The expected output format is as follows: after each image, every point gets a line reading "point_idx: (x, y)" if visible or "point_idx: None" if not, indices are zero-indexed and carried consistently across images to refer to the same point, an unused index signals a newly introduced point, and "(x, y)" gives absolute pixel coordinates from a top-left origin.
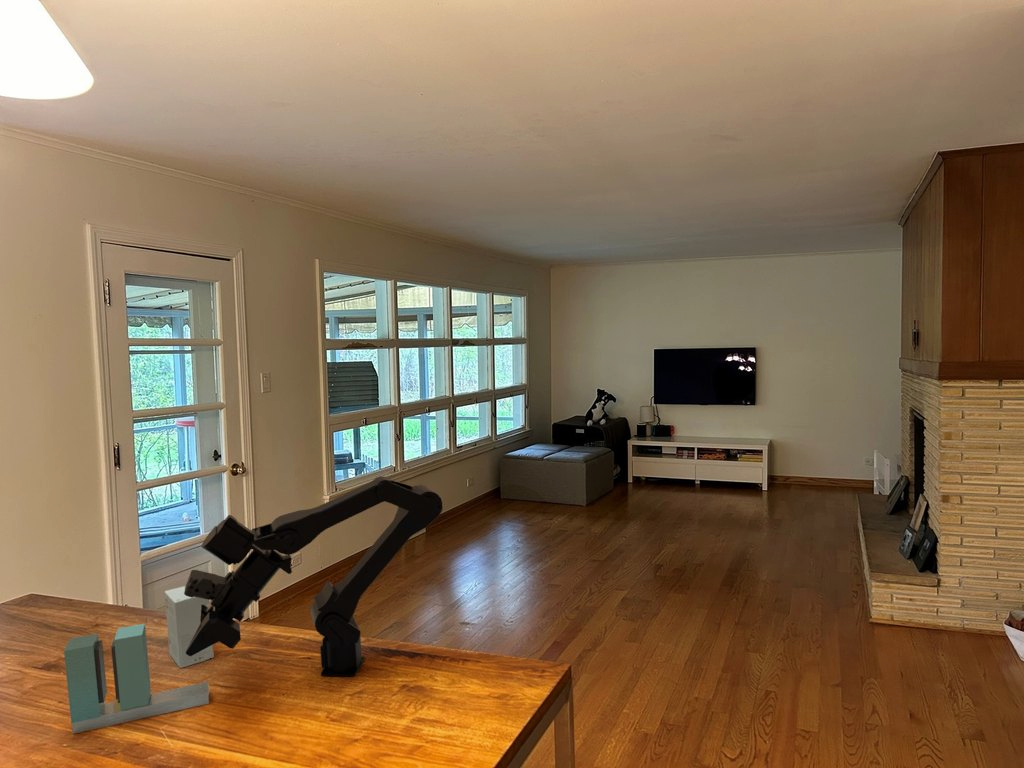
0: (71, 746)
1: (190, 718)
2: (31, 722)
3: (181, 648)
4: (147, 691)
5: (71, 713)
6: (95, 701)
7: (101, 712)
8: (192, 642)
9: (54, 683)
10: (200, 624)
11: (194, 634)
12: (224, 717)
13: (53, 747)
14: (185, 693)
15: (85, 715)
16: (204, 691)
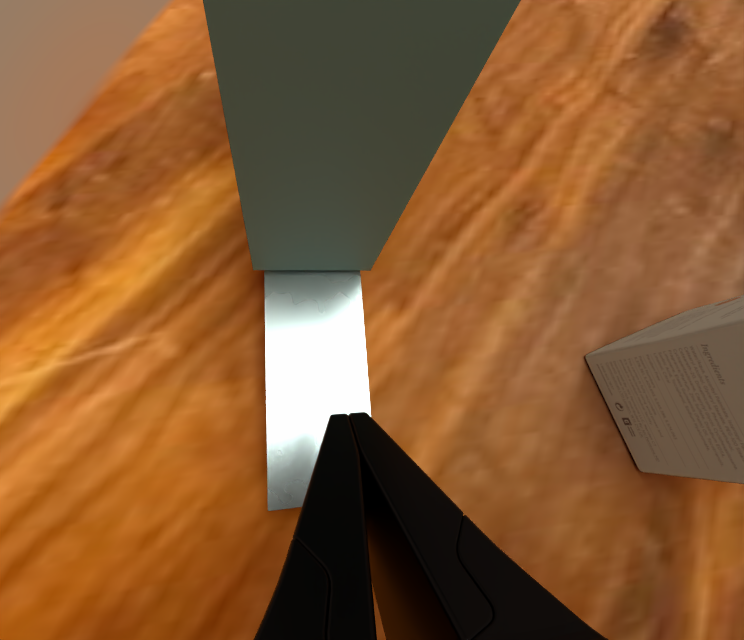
0: (184, 89)
1: (177, 438)
2: None
3: (649, 352)
4: (260, 248)
5: None
6: None
7: None
8: (310, 488)
9: (579, 42)
10: (483, 619)
11: (441, 496)
12: (104, 593)
13: (206, 50)
14: (303, 406)
15: None
16: (284, 492)
